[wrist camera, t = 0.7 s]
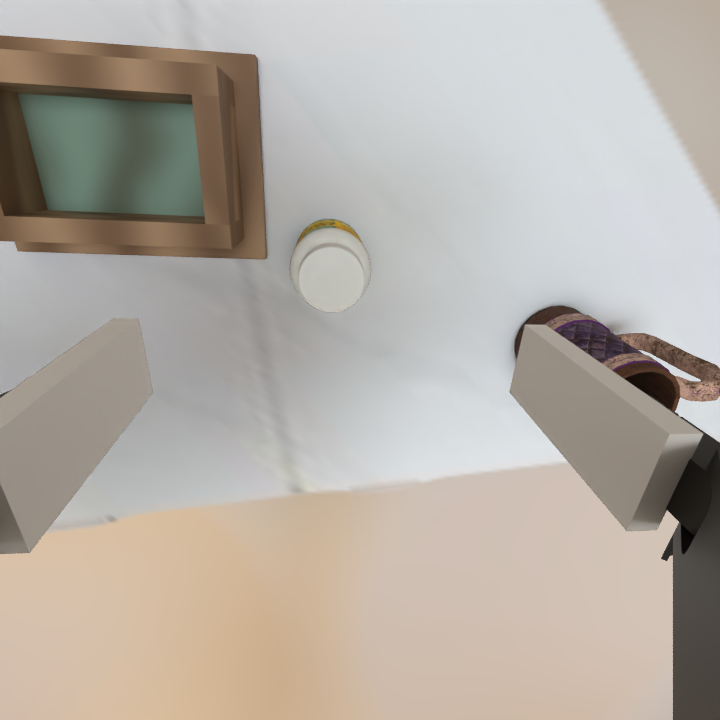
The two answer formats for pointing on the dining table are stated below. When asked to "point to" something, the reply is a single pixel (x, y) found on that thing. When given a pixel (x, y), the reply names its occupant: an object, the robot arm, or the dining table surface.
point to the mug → (634, 357)
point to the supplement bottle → (330, 266)
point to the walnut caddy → (130, 150)
